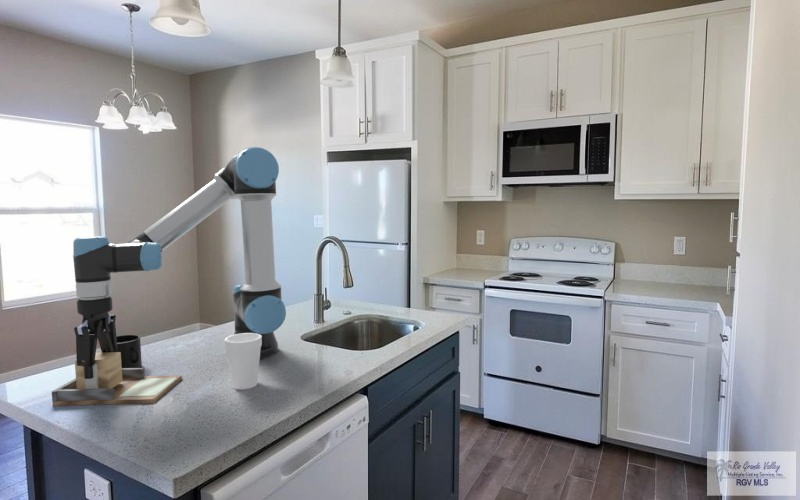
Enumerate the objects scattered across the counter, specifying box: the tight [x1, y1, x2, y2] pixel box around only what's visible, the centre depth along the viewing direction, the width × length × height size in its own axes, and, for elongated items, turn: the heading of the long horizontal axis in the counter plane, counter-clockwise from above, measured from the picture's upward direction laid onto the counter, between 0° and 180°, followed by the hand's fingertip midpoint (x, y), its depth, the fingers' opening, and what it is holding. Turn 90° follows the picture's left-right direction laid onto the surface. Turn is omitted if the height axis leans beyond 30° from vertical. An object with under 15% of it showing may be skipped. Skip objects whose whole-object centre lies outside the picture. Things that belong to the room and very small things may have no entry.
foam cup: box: [224, 333, 262, 390], centre depth 123 cm, size 10×9×13 cm
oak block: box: [74, 352, 122, 389], centre depth 119 cm, size 8×6×8 cm
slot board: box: [51, 367, 183, 407], centre depth 119 cm, size 24×16×4 cm, turn 93°
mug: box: [112, 334, 143, 368], centre depth 136 cm, size 9×12×9 cm
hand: (100, 384), depth 119 cm, fingers closed on oak block, 6 cm apart
